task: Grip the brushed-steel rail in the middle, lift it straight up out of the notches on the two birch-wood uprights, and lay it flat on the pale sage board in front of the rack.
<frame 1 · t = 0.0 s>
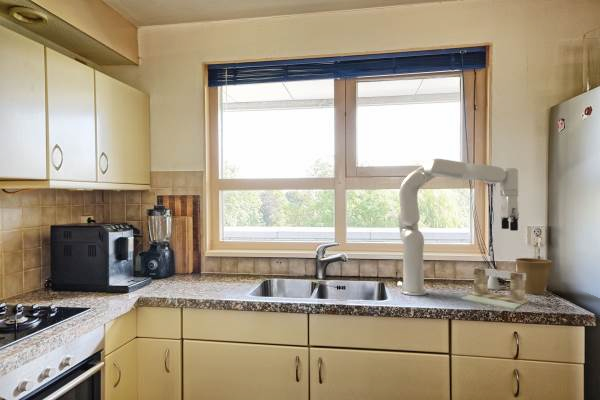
hand: (509, 229, 179), 31 cm above the worktop, tool pointing down, fingers open, 9 cm apart
rail: (498, 276, 173), point 10 cm above the worktop, touching rail rack
rail rack: (498, 298, 173), on the worktop
flask: (492, 288, 191), on the worktop
mat: (490, 302, 166), on the worktop
plant pot: (533, 293, 182), on the worktop
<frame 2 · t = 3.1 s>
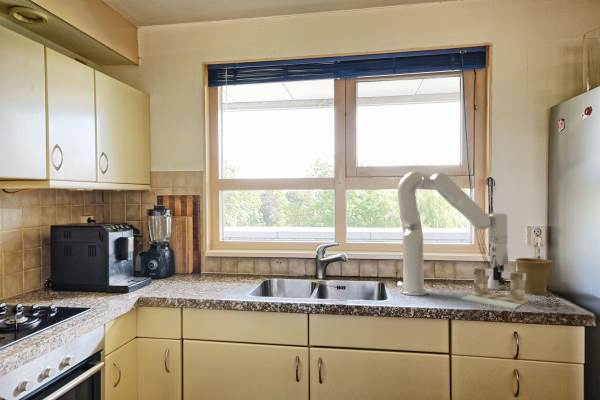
hand: (498, 279, 173), 9 cm above the worktop, tool pointing down, fingers closed on rail, 2 cm apart
rail: (498, 276, 173), point 10 cm above the worktop, touching gripper, rail rack
everything else where it was.
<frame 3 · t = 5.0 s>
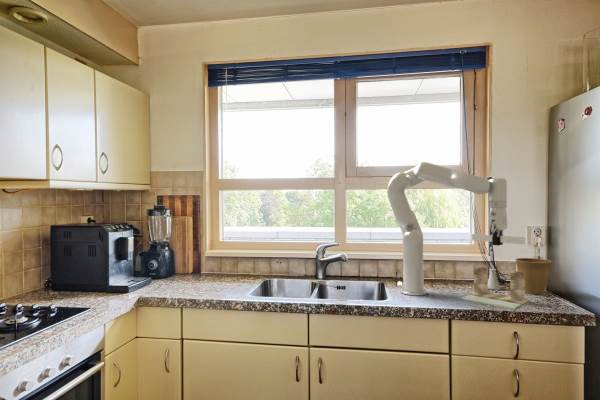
hand: (497, 244, 172), 25 cm above the worktop, tool pointing down, fingers closed on rail, 2 cm apart
rail: (497, 241, 172), point 26 cm above the worktop, touching gripper
everything else where it was.
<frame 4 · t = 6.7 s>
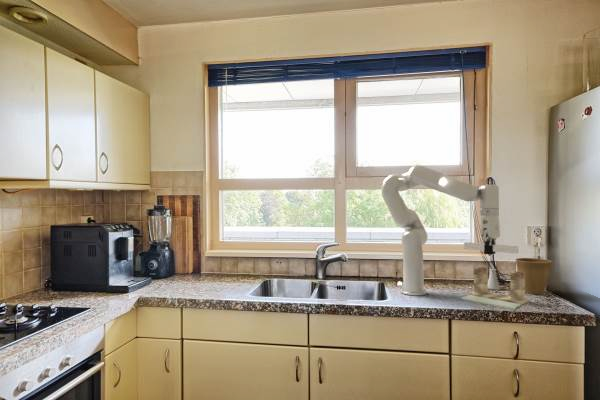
hand: (489, 253, 166), 22 cm above the worktop, tool pointing down, fingers closed on rail, 2 cm apart
rail: (490, 250, 166), point 23 cm above the worktop, touching gripper
everything else where it was.
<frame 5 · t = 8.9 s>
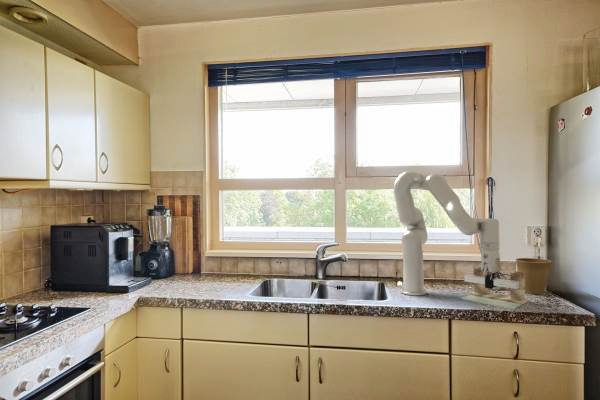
hand: (490, 287, 166), 7 cm above the worktop, tool pointing down, fingers closed on rail, 2 cm apart
rail: (490, 284, 166), point 8 cm above the worktop, touching gripper
everything else where it was.
when the fingers open (1 cm above the worktop, at t = 10.4 s): rail drops 2 cm, resting on mat.
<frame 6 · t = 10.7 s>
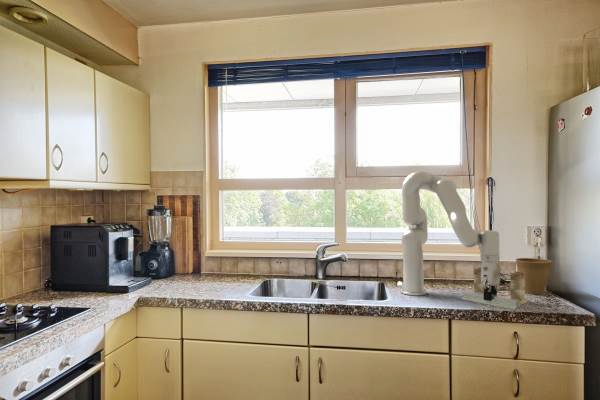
hand: (490, 298, 166), 2 cm above the worktop, tool pointing down, fingers open, 5 cm apart
rail: (490, 301, 166), point 1 cm above the worktop, touching mat
everything else where it was.
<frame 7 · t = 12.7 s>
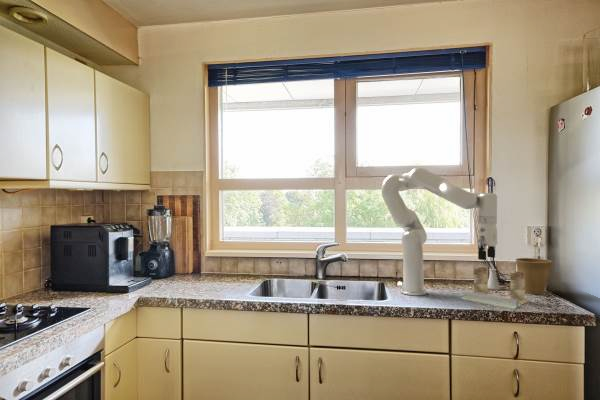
hand: (486, 258, 168), 19 cm above the worktop, tool pointing down, fingers open, 9 cm apart
nothing on the worktop moved.
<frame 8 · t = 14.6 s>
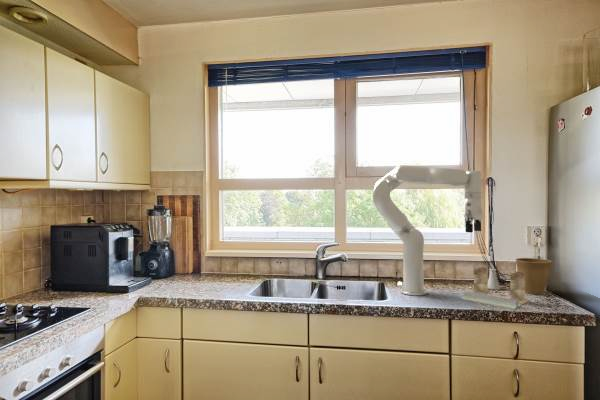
hand: (473, 231, 180), 30 cm above the worktop, tool pointing down, fingers open, 9 cm apart
nothing on the worktop moved.
at the end: rail inside the target area on the mat (0.1 cm from its centre), point 0.6 cm above the mat's base; rail tilted 0°; the gripper is holding nothing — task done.
